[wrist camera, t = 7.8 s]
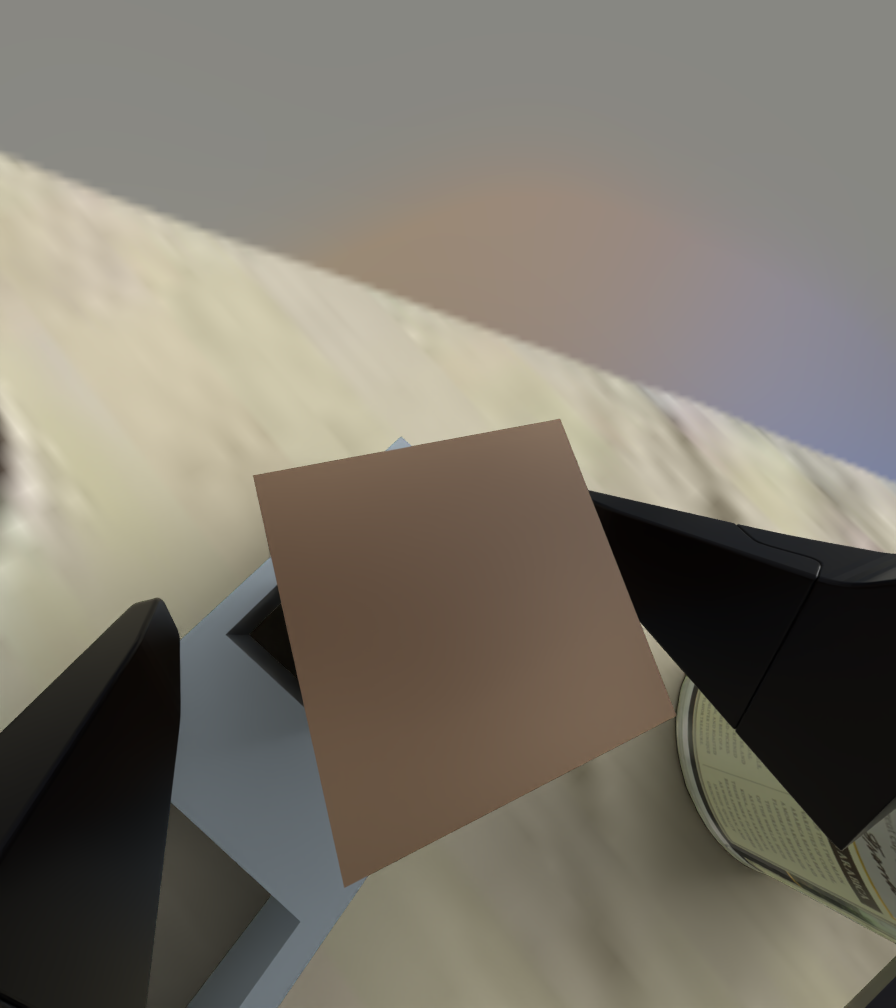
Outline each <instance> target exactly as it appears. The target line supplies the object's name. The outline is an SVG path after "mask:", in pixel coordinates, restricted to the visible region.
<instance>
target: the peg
mask: <svg viewBox="0 0 896 1008" xmlns="http://www.w3.org/2000/svg"><path fill="white" fill-rule="evenodd" d="M253 477H254V482H255V487H256V491H257V496H258V500H259V505H260V509H261V514H262V518H263V523H264V527H265V532H266V536H267V541H268V545H269V550H270V554H271V559H272V563H273V568H274V572H275V577H276V582H277V586H278V591H279V595H280V600H281V604H282V609H283V613H284V618H285V622H286V627H287V631H288V636H289V640H290V645H291V649H292V654H293V658H294V663H295V668H296V672H297V677H298V681H299V686H300V690H301V695H302V699H303V704H304V708H305V713H306V717H307V722H308V726H309V731H310V735H311V740H312V744H313V749H314V753H315V758H316V763H317V767H318V772H319V776H320V781H321V785H322V790H323V794H324V799H325V803H326V808H327V812H328V817H329V821H330V826H331V830H332V835H333V839H334V844H335V849H336V853H337V858H338V862H339V867H340V871H341V876H342V880H343V885H344V888H345V887H347V886H349V885H351V884H353V883H355V882H357V881H359V880H361V879H363V878H365V877H367V876H369V875H371V874H372V873H374V872H376V871H378V870H380V869H382V868H384V867H386V866H388V865H390V864H392V863H394V862H396V861H398V860H399V859H401V858H403V857H405V856H407V855H409V854H411V853H413V852H415V851H417V850H419V849H421V848H423V847H425V846H426V845H428V844H430V843H432V842H434V841H436V840H438V839H440V838H442V837H444V836H446V835H448V834H450V833H452V832H453V831H455V830H457V829H459V828H461V827H463V826H465V825H467V824H469V823H471V822H473V821H475V820H477V819H479V818H481V817H482V816H484V815H486V814H488V813H490V812H492V811H494V810H496V809H498V808H500V807H502V806H504V805H506V804H508V803H509V802H511V801H513V800H515V799H517V798H519V797H521V796H523V795H525V794H527V793H529V792H531V791H533V790H535V789H536V788H538V787H540V786H542V785H544V784H546V783H548V782H550V781H552V780H554V779H556V778H558V777H560V776H562V775H563V774H565V773H567V772H569V771H571V770H573V769H575V768H577V767H579V766H581V765H583V764H585V763H587V762H589V761H590V760H592V759H594V758H596V757H598V756H600V755H602V754H604V753H606V752H608V751H610V750H612V749H614V748H616V747H618V746H619V745H621V744H623V743H625V742H627V741H629V740H631V739H633V738H635V737H637V736H639V735H641V734H643V733H645V732H646V731H648V730H650V729H652V728H654V727H656V726H658V725H660V724H662V723H664V722H666V721H668V720H670V719H672V718H673V717H675V716H676V713H675V711H674V708H673V706H672V703H671V701H670V698H669V696H668V693H667V690H666V688H665V685H664V683H663V680H662V678H661V675H660V673H659V670H658V667H657V665H656V662H655V660H654V657H653V655H652V652H651V650H650V647H649V645H648V642H647V639H646V637H645V634H644V632H643V629H642V627H641V624H640V622H639V619H638V616H637V614H636V611H635V609H634V606H633V604H632V601H631V599H630V596H629V593H628V591H627V588H626V586H625V583H624V581H623V578H622V576H621V573H620V570H619V568H618V565H617V563H616V560H615V558H614V555H613V553H612V550H611V547H610V545H609V542H608V540H607V537H606V535H605V532H604V530H603V527H602V524H601V522H600V519H599V517H598V514H597V512H596V509H595V507H594V504H593V502H592V499H591V496H590V494H589V491H588V489H587V486H586V484H585V481H584V479H583V476H582V473H581V471H580V468H579V466H578V463H577V461H576V458H575V456H574V453H573V450H572V448H571V445H570V443H569V440H568V438H567V435H566V433H565V430H564V427H563V425H562V422H561V420H560V419H557V420H551V421H546V422H541V423H535V424H530V425H524V426H519V427H514V428H508V429H503V430H497V431H492V432H486V433H481V434H476V435H470V436H465V437H459V438H454V439H449V440H443V441H438V442H432V443H427V444H421V445H416V446H411V447H405V448H400V449H394V450H389V451H384V452H378V453H373V454H367V455H362V456H356V457H351V458H346V459H340V460H335V461H329V462H324V463H319V464H313V465H308V466H302V467H297V468H291V469H286V470H281V471H275V472H270V473H264V474H259V475H254V476H253Z"/></svg>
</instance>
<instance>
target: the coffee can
mask: <svg viewBox="0 0 896 1008" xmlns="http://www.w3.org/2000/svg"><path fill="white" fill-rule="evenodd" d="M735 730H736V729H733V728H732V727H731V726H730V725H729V724H728V722H727V721H726V720H725V719H724V718H723V717H722V716H721V714H720V713H719V712H718V711H717V710H716V709H715V708H714V706H713V705H712V704H711V703H710V702H709V701H708V700H707V698H706V697H705V696H704V695H703V694H702V693H701V691H700V690H699V689H698V688H697V687H696V686H695V685H694V683H693V682H692V681H691V680H690V679H689V678H688V677H687V675H686V677H685V680H684V682H683V684H682V687H681V691H680V696H679V705H678V709H677V718H676V734H677V747H678V753H679V759H680V764H681V769H682V772H683V775H684V779H685V783H686V786H687V789H688V791H689V793H690V795H691V797H692V800H693V802H694V804H695V806H696V809H697V811H698V813H699V814H700V816H701V818H702V819H703V821H704V823H705V825H706V826H707V828H708V829H709V831H710V832H711V833H712V835H713V836H714V837H715V838H716V840H717V841H718V842H719V843H720V844H721V845H722V846H723V847H724V848H725V849H726V850H727V851H728V852H729V853H730V854H731V855H732V856H733V857H735V858H736V859H737V860H739V861H740V862H741V863H742V864H743V865H745V866H748V867H750V868H752V869H753V870H755V871H758V872H760V873H763V874H766V875H769V876H771V877H773V878H775V879H776V880H778V881H780V882H782V883H784V884H786V885H788V886H790V887H791V888H793V889H795V890H797V891H799V892H801V893H803V894H804V895H806V896H808V897H810V898H812V899H814V900H816V901H817V902H819V903H821V904H823V905H825V906H827V907H829V908H830V909H832V910H834V911H836V912H838V913H840V914H841V915H843V916H845V917H847V918H849V919H851V920H853V921H854V922H856V923H858V924H860V925H862V926H864V927H865V928H867V929H869V930H871V931H873V932H875V933H877V934H879V935H880V936H882V937H884V938H886V939H888V940H890V941H891V942H893V943H895V944H896V809H895V810H894V811H892V812H891V813H890V814H888V815H887V816H886V817H885V818H883V819H882V820H881V821H880V822H878V823H877V824H876V825H874V826H873V827H872V828H871V829H869V830H868V831H867V832H866V833H864V834H863V835H862V836H861V837H859V838H858V839H857V840H855V841H854V842H853V843H852V844H850V845H849V846H848V847H847V848H845V849H844V850H843V851H841V850H839V849H838V848H837V847H836V846H835V845H834V844H833V843H832V842H831V841H830V840H829V839H828V838H827V837H826V836H825V834H824V833H823V832H822V831H821V830H820V829H819V828H818V826H817V825H816V824H815V823H814V822H813V821H812V819H811V818H810V817H809V816H808V815H807V814H806V813H805V811H804V810H803V809H802V808H801V807H800V806H799V805H798V803H797V802H796V801H795V800H794V799H793V798H792V796H791V795H790V794H789V793H788V792H787V791H786V790H785V788H784V787H783V786H782V785H781V784H780V783H779V782H778V780H777V779H776V778H775V777H774V776H773V775H772V773H771V772H770V771H769V770H768V769H767V768H766V767H765V765H764V764H763V763H762V762H761V761H760V760H759V759H758V757H757V756H756V755H755V754H754V753H753V752H752V750H751V749H750V748H749V747H748V746H747V745H746V744H745V742H744V741H743V740H742V739H741V738H740V737H739V736H738V734H737V733H736V732H735Z"/></svg>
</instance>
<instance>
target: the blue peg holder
mask: <svg viewBox="0 0 896 1008" xmlns="http://www.w3.org/2000/svg"><path fill="white" fill-rule="evenodd" d="M405 447H411V445H410V444H409V443H408V442H407V441H406V440H404V439H403V438H402V437H400V438H399V439H398V440H397V441H395V442H394V443H393V444H392V445H391V446H390V447H389V448H388V449H387V450H386V451H389V450H394V449H400V448H405ZM280 604H281V600H280V595H279V591H278V586H277V582H276V577H275V572H274V568H273V563H272V559H271V557H270V558H269V559H268V560H267V561H266V562H264V563H263V564H262V565H261V566H260V567H259V568H258V569H257V570H256V571H255V572H254V573H253V574H251V575H250V576H249V577H248V578H247V579H246V580H245V581H244V582H243V583H242V584H241V585H240V586H238V587H237V588H236V589H235V590H234V591H233V592H232V593H231V594H230V595H229V596H228V597H227V598H225V599H224V600H223V601H222V602H221V603H220V604H219V605H218V606H217V607H216V608H215V609H214V610H212V611H211V612H210V613H209V614H208V615H207V616H206V617H205V618H204V619H203V620H202V621H201V622H199V623H198V624H197V625H196V626H195V627H194V628H193V629H192V630H191V631H190V632H189V633H188V634H186V635H185V636H184V637H183V638H182V639H181V640H180V679H181V718H180V730H179V738H178V746H177V754H176V763H175V771H174V779H173V787H172V796H171V803H172V804H173V805H174V806H176V807H177V808H178V809H179V810H180V811H181V812H182V813H183V814H184V815H185V816H186V817H187V818H189V819H190V820H191V821H192V822H193V823H194V824H195V825H196V826H197V827H198V828H199V829H201V830H202V831H203V832H204V833H205V834H206V835H207V836H208V837H209V838H210V839H211V840H212V841H214V842H215V843H216V844H217V845H218V846H219V847H220V848H221V849H222V850H223V851H224V852H225V853H227V854H228V855H229V856H230V857H231V858H232V859H233V860H234V861H235V862H236V863H237V864H239V865H240V866H241V867H242V868H243V869H244V870H245V871H246V872H247V873H248V874H249V875H250V876H252V877H253V878H254V879H255V880H256V881H257V882H258V883H259V884H260V885H261V886H262V887H264V888H265V889H266V890H267V891H268V892H269V893H270V894H271V896H270V898H269V899H268V900H267V902H266V903H265V904H264V906H263V907H262V908H261V910H260V911H259V912H258V914H257V915H256V916H255V918H254V919H253V920H252V921H251V923H250V924H249V925H248V927H247V928H246V929H245V931H244V932H243V933H242V935H241V936H240V937H239V939H238V940H237V941H236V943H235V944H234V945H233V946H232V948H231V949H230V950H229V952H228V953H227V954H226V956H225V957H224V958H223V960H222V961H221V962H220V964H219V965H218V966H217V968H216V969H215V970H214V971H213V973H212V974H211V975H210V977H209V978H208V979H207V981H206V982H205V983H204V985H203V986H202V987H201V989H200V990H199V991H198V993H197V994H196V995H195V996H194V998H193V999H192V1000H191V1002H190V1003H189V1004H188V1006H187V1007H186V1008H278V1006H279V1005H280V1003H281V1002H282V1000H283V999H284V998H285V996H286V995H287V993H288V992H289V990H290V989H291V987H292V986H293V984H294V983H295V982H296V980H297V979H298V977H299V976H300V974H301V973H302V971H303V970H304V968H305V967H306V966H307V964H308V963H309V961H310V960H311V958H312V957H313V955H314V954H315V952H316V951H317V950H318V948H319V947H320V945H321V944H322V942H323V941H324V939H325V938H326V936H327V935H328V933H329V932H330V931H331V929H332V928H333V926H334V925H335V923H336V922H337V920H338V919H339V917H340V916H341V915H342V913H343V912H344V910H345V909H346V907H347V906H348V904H349V903H350V901H351V900H352V899H353V897H354V896H355V894H356V893H357V891H358V890H359V888H360V887H361V885H362V884H363V883H364V881H365V880H366V878H367V877H368V876H367V877H365V878H363V879H361V880H359V881H357V882H355V883H353V884H351V885H349V886H347V887H345V888H344V885H343V880H342V876H341V871H340V867H339V862H338V858H337V853H336V849H335V844H334V839H333V835H332V830H331V826H330V821H329V817H328V812H327V808H326V803H325V799H324V794H323V790H322V785H321V781H320V776H319V772H318V767H317V763H316V758H315V753H314V749H313V744H312V740H311V735H310V731H309V726H308V722H307V717H306V713H305V708H304V704H303V699H302V695H301V690H300V686H299V681H298V679H297V678H296V677H294V676H293V675H292V674H291V673H290V672H289V671H288V670H287V669H286V668H285V667H284V666H283V665H281V664H280V663H279V662H278V661H277V660H276V659H275V658H274V657H273V656H272V655H271V654H270V653H268V652H267V651H266V650H265V649H264V648H263V647H262V646H261V645H260V644H259V643H258V642H256V641H255V640H254V639H253V638H252V637H251V636H250V635H249V634H250V633H251V632H252V631H253V630H254V629H255V628H256V627H257V626H258V625H259V624H260V623H261V622H262V621H263V620H264V619H265V618H267V617H268V616H269V615H270V614H271V613H272V612H273V611H274V610H275V609H276V608H277V607H278V606H279V605H280Z"/></svg>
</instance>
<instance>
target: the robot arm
mask: <svg viewBox="0 0 896 1008" xmlns="http://www.w3.org/2000/svg"><path fill="white" fill-rule="evenodd" d="M588 491H589V494H590V496H591V499H592V502H593V504H594V507H595V509H596V512H597V514H598V517H599V519H600V522H601V524H602V527H603V530H604V532H605V535H606V537H607V540H608V542H609V545H610V547H611V550H612V553H613V555H614V558H615V560H616V563H617V565H618V568H619V570H620V573H621V576H622V578H623V581H624V583H625V586H626V588H627V591H628V593H629V596H630V599H631V601H632V604H633V606H634V609H635V611H636V614H637V616H638V619H639V621H640V623H641V624H642V625H643V626H644V627H645V628H646V629H647V631H648V632H649V633H650V634H651V635H652V636H653V638H654V639H655V640H656V641H657V642H658V643H659V644H660V646H661V647H662V648H663V649H664V650H665V651H666V652H667V654H668V655H669V656H670V657H671V658H672V659H673V660H674V662H675V663H676V664H677V665H678V666H679V667H680V669H681V670H682V671H683V672H684V673H685V674H686V675H687V677H688V678H689V679H690V680H691V681H692V682H693V683H694V685H695V686H696V687H697V688H698V689H699V690H700V691H701V693H702V694H703V695H704V696H705V697H706V698H707V700H708V701H709V702H710V703H711V704H712V705H713V706H714V708H715V709H716V710H717V711H718V712H719V713H720V714H721V716H722V717H723V718H724V719H725V720H726V721H727V722H728V724H729V725H730V726H731V727H732V728H733V729H736V730H735V732H736V733H737V734H738V736H739V737H740V738H741V739H742V740H743V741H744V742H745V744H746V745H747V746H748V747H749V748H750V749H751V750H752V752H753V753H754V754H755V755H756V756H757V757H758V759H759V760H760V761H761V762H762V763H763V764H764V765H765V767H766V768H767V769H768V770H769V771H770V772H771V773H772V775H773V776H774V777H775V778H776V779H777V780H778V782H779V783H780V784H781V785H782V786H783V787H784V788H785V790H786V791H787V792H788V793H789V794H790V795H791V796H792V798H793V799H794V800H795V801H796V802H797V803H798V805H799V806H800V807H801V808H802V809H803V810H804V811H805V813H806V814H807V815H808V816H809V817H810V818H811V819H812V821H813V822H814V823H815V824H816V825H817V826H818V828H819V829H820V830H821V831H822V832H823V833H824V834H825V836H826V837H827V838H828V839H829V840H830V841H831V842H832V843H833V844H834V845H835V846H836V847H837V848H838V849H839V850H841V851H843V850H844V849H845V848H847V847H848V846H849V845H850V844H852V843H853V842H854V841H855V840H857V839H858V838H859V837H861V836H862V835H863V834H864V833H866V832H867V831H868V830H869V829H871V828H872V827H873V826H874V825H876V824H877V823H878V822H880V821H881V820H882V819H883V818H885V817H886V816H887V815H888V814H890V813H891V812H892V811H894V810H895V809H896V554H890V553H883V552H876V551H871V550H865V549H860V548H855V547H849V546H844V545H838V544H833V543H828V542H822V541H817V540H811V539H806V538H801V537H796V536H791V535H786V534H781V533H776V532H771V531H767V530H762V529H757V528H753V527H749V526H744V525H740V524H737V525H736V524H734V523H731V522H726V521H722V520H717V519H713V518H709V517H704V516H700V515H695V514H691V513H687V512H682V511H678V510H673V509H669V508H665V507H660V506H656V505H651V504H647V503H642V502H638V501H634V500H629V499H625V498H620V497H616V496H612V495H607V494H603V493H598V492H594V491H590V490H588ZM180 718H181V679H180V638H179V633H178V630H177V627H176V625H175V623H174V621H173V619H172V617H171V615H170V613H169V611H168V609H167V607H166V605H165V603H164V601H163V600H162V599H160V598H154V599H150V600H146V601H142V602H138V603H135V604H133V605H132V606H131V607H130V608H129V609H128V610H127V611H126V612H124V613H123V614H122V615H121V616H120V617H119V618H118V619H117V620H116V621H115V622H114V623H113V624H112V625H111V626H110V627H109V628H108V629H107V630H106V631H105V632H104V633H103V634H102V635H101V636H100V637H99V638H98V639H97V640H96V641H95V642H94V643H93V644H92V645H91V646H89V647H88V648H87V649H86V650H85V651H84V652H83V653H82V654H81V655H80V656H79V657H78V658H77V659H76V660H75V661H74V662H73V663H72V664H71V665H70V666H69V667H68V668H67V669H66V670H65V671H64V672H63V673H62V674H61V675H60V676H59V677H58V678H57V679H56V680H54V681H53V682H52V683H51V684H50V685H49V686H48V687H47V688H46V689H45V690H44V691H43V692H42V693H41V694H40V695H39V696H38V697H37V698H36V699H35V700H34V701H33V702H32V703H31V704H30V705H29V706H28V707H27V708H26V709H25V710H24V711H23V712H22V713H21V714H19V715H18V716H17V717H16V718H15V719H14V720H13V721H12V722H11V723H10V724H9V725H8V726H7V727H6V728H5V729H4V730H3V731H2V732H1V733H0V1008H146V1002H147V994H148V985H149V977H150V969H151V961H152V952H153V944H154V936H155V928H156V919H157V911H158V903H159V895H160V886H161V878H162V870H163V862H164V853H165V845H166V837H167V829H168V820H169V812H170V804H171V796H172V787H173V779H174V771H175V763H176V754H177V746H178V738H179V730H180ZM844 1008H896V956H895V957H894V958H893V959H892V960H891V961H890V962H889V963H888V964H887V965H886V966H885V967H884V968H883V969H882V970H881V971H880V972H879V973H878V974H877V975H876V976H875V977H874V978H873V979H872V980H871V981H870V982H869V983H868V984H867V985H866V986H865V987H864V988H863V989H862V990H861V991H860V992H859V993H858V994H857V995H856V996H855V997H854V998H853V999H852V1000H851V1001H850V1002H849V1003H848V1004H847V1005H846V1006H845V1007H844Z"/></svg>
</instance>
